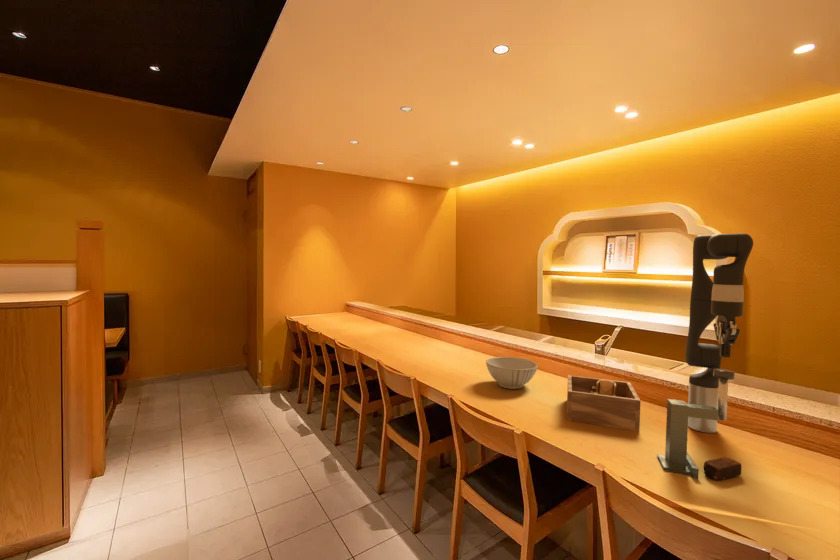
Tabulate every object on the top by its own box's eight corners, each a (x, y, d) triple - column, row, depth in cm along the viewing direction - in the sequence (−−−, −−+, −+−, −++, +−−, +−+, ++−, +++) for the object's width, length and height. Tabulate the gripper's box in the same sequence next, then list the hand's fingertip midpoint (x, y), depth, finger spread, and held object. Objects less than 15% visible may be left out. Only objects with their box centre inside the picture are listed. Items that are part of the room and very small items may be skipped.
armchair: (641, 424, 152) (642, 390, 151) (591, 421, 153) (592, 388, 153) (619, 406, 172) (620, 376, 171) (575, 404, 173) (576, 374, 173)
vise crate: (567, 400, 178) (567, 375, 178) (628, 408, 168) (629, 382, 168) (567, 420, 154) (568, 391, 153) (639, 431, 144) (640, 400, 144)
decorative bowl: (529, 397, 181) (529, 372, 181) (477, 387, 195) (478, 364, 195) (542, 383, 204) (543, 361, 203) (495, 375, 218) (496, 354, 217)
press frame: (656, 454, 126) (658, 394, 125) (706, 463, 121) (709, 400, 120) (665, 472, 115) (667, 406, 114) (720, 483, 110) (723, 414, 109)
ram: (708, 415, 117) (711, 367, 117) (728, 417, 116) (730, 369, 115) (714, 421, 113) (717, 371, 112) (735, 423, 111) (737, 373, 110)
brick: (741, 476, 113) (724, 468, 118) (742, 463, 113) (725, 455, 118) (717, 482, 110) (701, 473, 114) (718, 468, 110) (701, 460, 114)
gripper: (752, 302, 105) (750, 362, 106) (733, 298, 118) (730, 353, 118) (720, 300, 108) (717, 360, 109) (704, 297, 121) (702, 351, 121)
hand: (724, 356), depth 114 cm, fingers closed
